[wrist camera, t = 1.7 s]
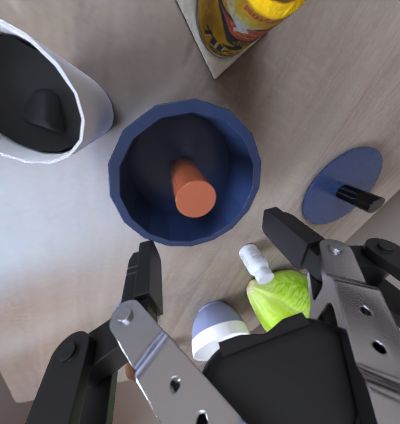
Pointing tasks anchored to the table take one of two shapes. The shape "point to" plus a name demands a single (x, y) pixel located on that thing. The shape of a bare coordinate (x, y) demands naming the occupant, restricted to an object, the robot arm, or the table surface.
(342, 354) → the robot arm
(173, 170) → the orange cylinder
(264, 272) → the pill bottle
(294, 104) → the table surface
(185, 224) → the pot
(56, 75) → the white coffee cup
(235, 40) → the condiment
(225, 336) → the bowl
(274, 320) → the lettuce
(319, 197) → the lid
